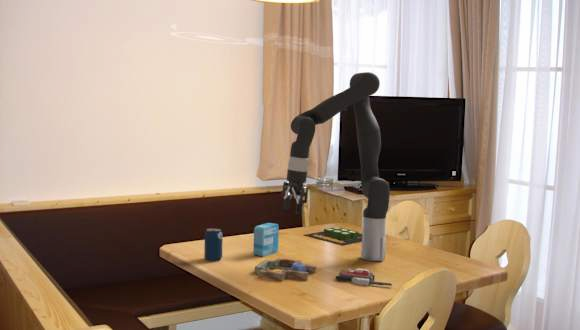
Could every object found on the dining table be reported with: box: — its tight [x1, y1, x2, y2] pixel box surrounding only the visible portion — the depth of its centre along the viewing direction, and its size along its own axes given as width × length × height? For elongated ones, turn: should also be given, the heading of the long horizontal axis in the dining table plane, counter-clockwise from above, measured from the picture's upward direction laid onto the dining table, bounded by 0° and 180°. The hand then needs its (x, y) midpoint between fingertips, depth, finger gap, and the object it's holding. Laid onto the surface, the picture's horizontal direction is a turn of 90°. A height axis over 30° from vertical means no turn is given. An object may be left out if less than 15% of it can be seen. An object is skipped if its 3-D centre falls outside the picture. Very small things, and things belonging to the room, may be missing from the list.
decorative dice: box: [291, 262, 306, 272], centre depth 216 cm, size 4×4×4 cm
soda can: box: [203, 227, 224, 262], centre depth 233 cm, size 7×7×12 cm
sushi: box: [303, 226, 362, 246], centre depth 281 cm, size 25×25×4 cm
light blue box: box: [253, 222, 280, 257], centre depth 245 cm, size 12×4×12 cm, turn 149°
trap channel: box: [254, 257, 317, 282], centre depth 218 cm, size 20×20×2 cm
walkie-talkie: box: [335, 267, 393, 287], centre depth 210 cm, size 9×4×20 cm
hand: (292, 211), depth 226 cm, fingers open, 8 cm apart
